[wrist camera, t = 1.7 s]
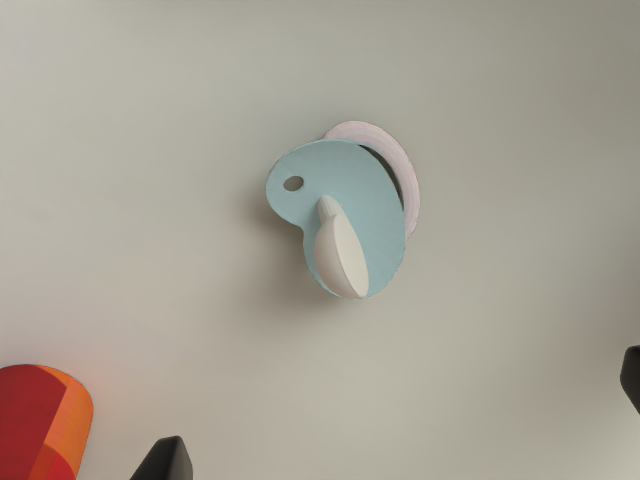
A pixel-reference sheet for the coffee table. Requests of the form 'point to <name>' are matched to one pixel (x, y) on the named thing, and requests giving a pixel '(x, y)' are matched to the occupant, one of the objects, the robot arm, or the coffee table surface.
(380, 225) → the pacifier
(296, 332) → the coffee table surface
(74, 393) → the paper cup
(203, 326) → the coffee table surface
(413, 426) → the coffee table surface
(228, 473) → the coffee table surface
